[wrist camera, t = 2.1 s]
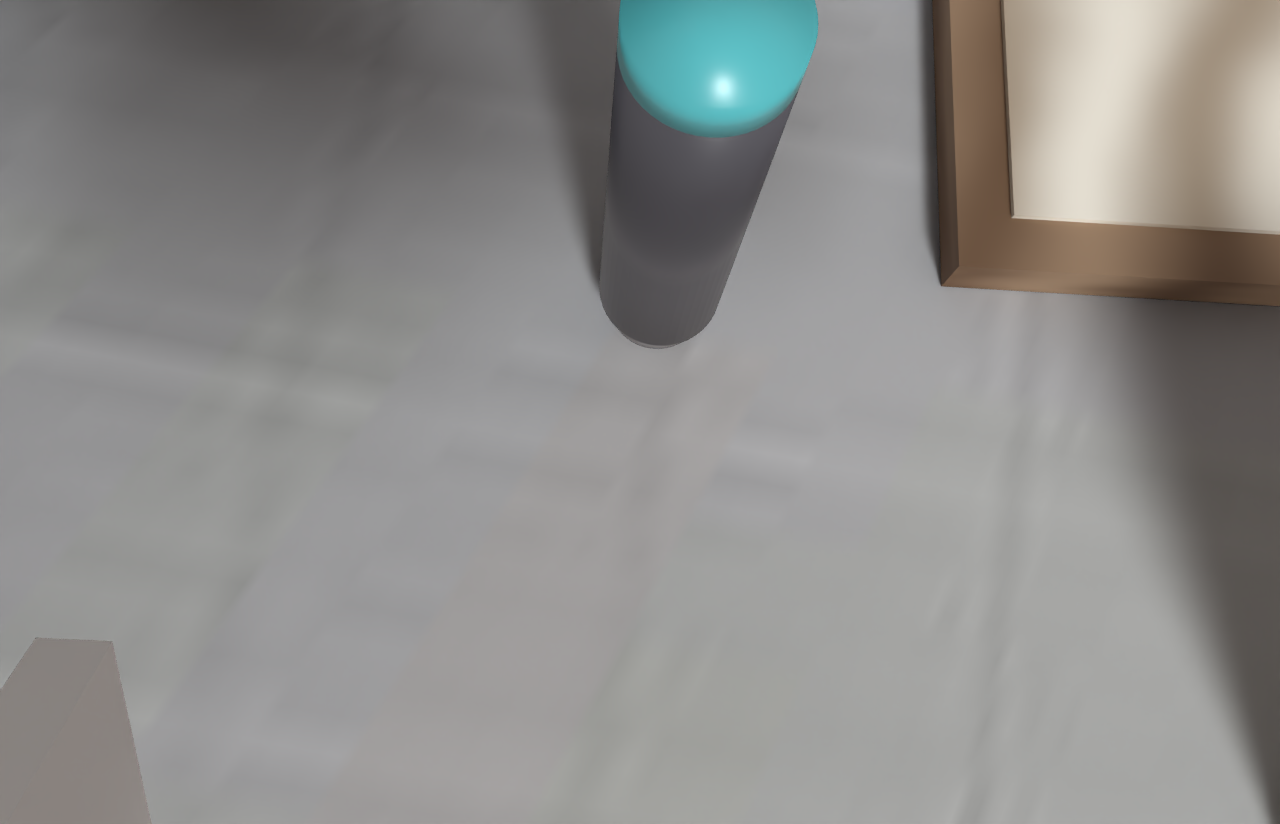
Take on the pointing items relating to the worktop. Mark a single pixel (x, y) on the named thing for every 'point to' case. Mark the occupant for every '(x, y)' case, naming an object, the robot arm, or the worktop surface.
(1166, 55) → the writing board
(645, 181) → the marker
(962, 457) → the worktop surface
